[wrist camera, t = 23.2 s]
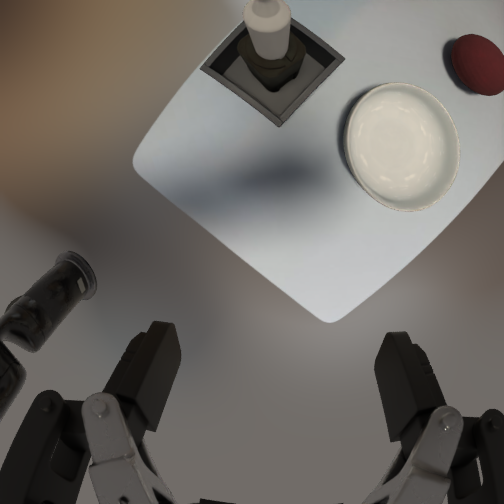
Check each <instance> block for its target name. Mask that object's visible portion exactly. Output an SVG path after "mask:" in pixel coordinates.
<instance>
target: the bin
mask: <svg viewBox="0 0 504 504" xmlns="http://www.w3.org/2000/svg"><path fill="white" fill-rule="evenodd" d="M290 31H291V32H292V33H293V34H294V35H295V36H296V37H297V38H298V39H299V40H300V41H301V42H302V43H303V44H304V45H305V47H306V55H305V57H304V60H303V63H302V65H301V68H300V70H299V73H298V76H297V78H296V79H292V80H291V81H289V82H288V83H287V84H285V85H284V86H283V87H281V88H280V91H278V92H270V91H268V90H267V89H266V88H265V87H264V86H263V85H262V84H261V83H260V82H259V81H258V80H257V79H256V78H255V77H254V76H253V74H252V73H251V71H250V70H249V68H248V66H247V65H246V63H245V62H244V60H243V58H242V57H241V55H240V54H239V52H238V50H237V45H238V43H239V41H240V40H241V39H242V38H244V37H245V36H246V35H248V34H249V32H248V29H247V27H246V24H245V22H244V21H243V22H242V23H241V24H240V25H239V26H238V27H237V28H236V29H235V30H234V31H233V32H232V33H231V34H230V35H229V36H228V37H227V38H226V39H225V40H224V41H223V42H222V43H221V45H220V46H219V47H218V48H217V49H216V50H215V51H214V52H213V53H212V55H211V56H210V57H209V58H208V59H207V60H206V62H205V63H204V64H203V65H202V66H201V68H200V70H202V71H203V72H205V73H206V74H208V75H209V76H211V77H212V78H214V79H215V80H217V81H218V82H220V83H221V84H223V85H224V86H225V87H227V88H228V89H230V90H231V91H232V92H234V93H235V94H237V95H238V96H239V97H241V98H242V99H243V100H245V101H246V102H247V103H249V104H250V105H251V106H253V107H254V108H255V109H256V110H258V111H259V112H260V113H262V114H263V115H264V116H265V117H267V118H268V119H269V120H270V121H272V122H273V123H274V124H275V125H277V126H278V127H280V126H281V125H282V124H283V123H284V122H285V121H286V120H287V119H288V118H289V117H290V115H291V114H292V113H293V112H294V111H295V110H296V109H297V108H298V107H299V106H300V105H301V104H302V103H303V102H304V101H305V99H306V98H307V97H308V96H309V95H310V94H311V93H312V92H313V91H314V90H315V89H316V88H317V87H318V86H319V85H320V84H321V83H322V82H323V81H324V80H325V79H326V78H327V77H328V76H329V75H330V74H331V73H332V72H333V71H334V70H335V69H336V68H337V67H338V66H339V65H340V64H341V63H342V62H343V61H344V60H345V58H344V57H343V56H342V55H340V54H339V53H338V52H337V51H336V50H334V49H333V48H332V47H331V46H329V45H328V44H327V43H326V42H324V41H323V40H322V39H321V38H319V37H318V36H317V35H315V34H314V33H313V32H311V31H310V30H308V29H307V28H306V27H304V26H303V25H301V24H300V23H299V22H297V21H296V20H294V19H293V18H291V23H290Z"/></svg>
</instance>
